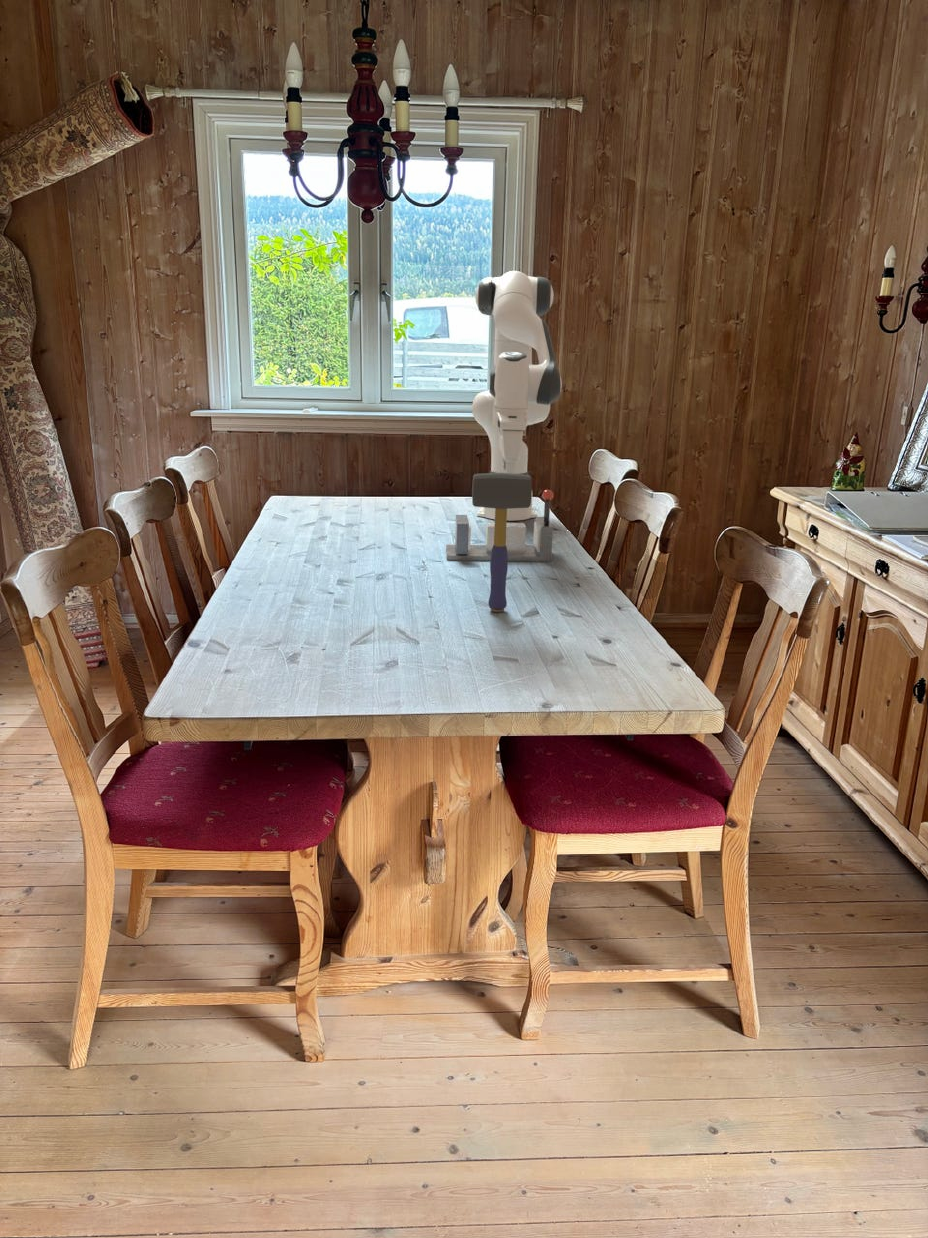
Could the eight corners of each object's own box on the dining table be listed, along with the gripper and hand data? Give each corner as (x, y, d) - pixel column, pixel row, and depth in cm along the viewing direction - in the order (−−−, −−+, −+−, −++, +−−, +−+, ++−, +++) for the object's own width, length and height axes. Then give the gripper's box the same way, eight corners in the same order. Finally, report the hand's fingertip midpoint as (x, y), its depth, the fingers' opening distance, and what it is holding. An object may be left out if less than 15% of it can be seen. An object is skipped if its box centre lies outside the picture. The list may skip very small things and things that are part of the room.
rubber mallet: (468, 615, 209) (472, 475, 200) (468, 605, 216) (472, 469, 207) (527, 616, 209) (533, 476, 200) (524, 606, 216) (530, 470, 207)
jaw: (455, 544, 263) (455, 514, 261) (468, 544, 264) (469, 514, 261) (456, 554, 253) (457, 523, 251) (470, 554, 253) (471, 523, 251)
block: (485, 548, 261) (486, 522, 259) (523, 548, 262) (524, 523, 259) (486, 552, 256) (487, 526, 254) (524, 553, 257) (526, 527, 255)
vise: (446, 548, 264) (447, 481, 259) (545, 550, 265) (549, 482, 260) (446, 560, 253) (448, 489, 247) (551, 561, 254) (554, 491, 248)
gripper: (495, 413, 258) (493, 465, 262) (500, 423, 239) (498, 479, 243) (519, 413, 258) (516, 466, 263) (526, 424, 239) (523, 480, 243)
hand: (507, 472), depth 253 cm, fingers open, 8 cm apart
